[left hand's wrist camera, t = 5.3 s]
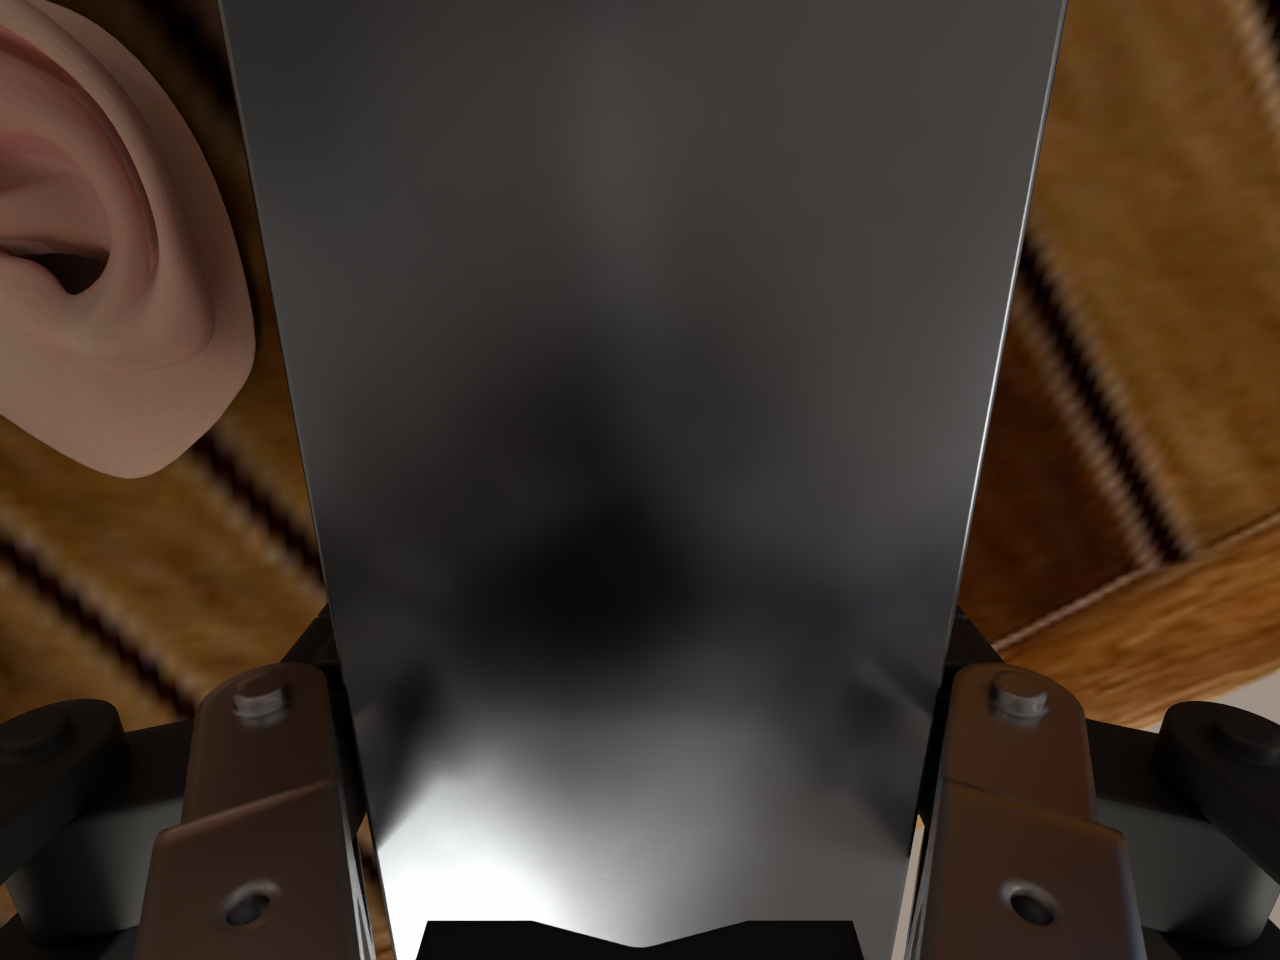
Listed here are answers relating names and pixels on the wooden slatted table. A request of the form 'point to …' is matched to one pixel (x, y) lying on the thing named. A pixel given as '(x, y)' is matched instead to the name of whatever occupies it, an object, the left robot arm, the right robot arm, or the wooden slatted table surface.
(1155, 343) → the wooden slatted table surface
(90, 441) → the anatomical model
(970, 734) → the left robot arm
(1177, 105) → the wooden slatted table surface
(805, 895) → the box
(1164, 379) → the wooden slatted table surface
